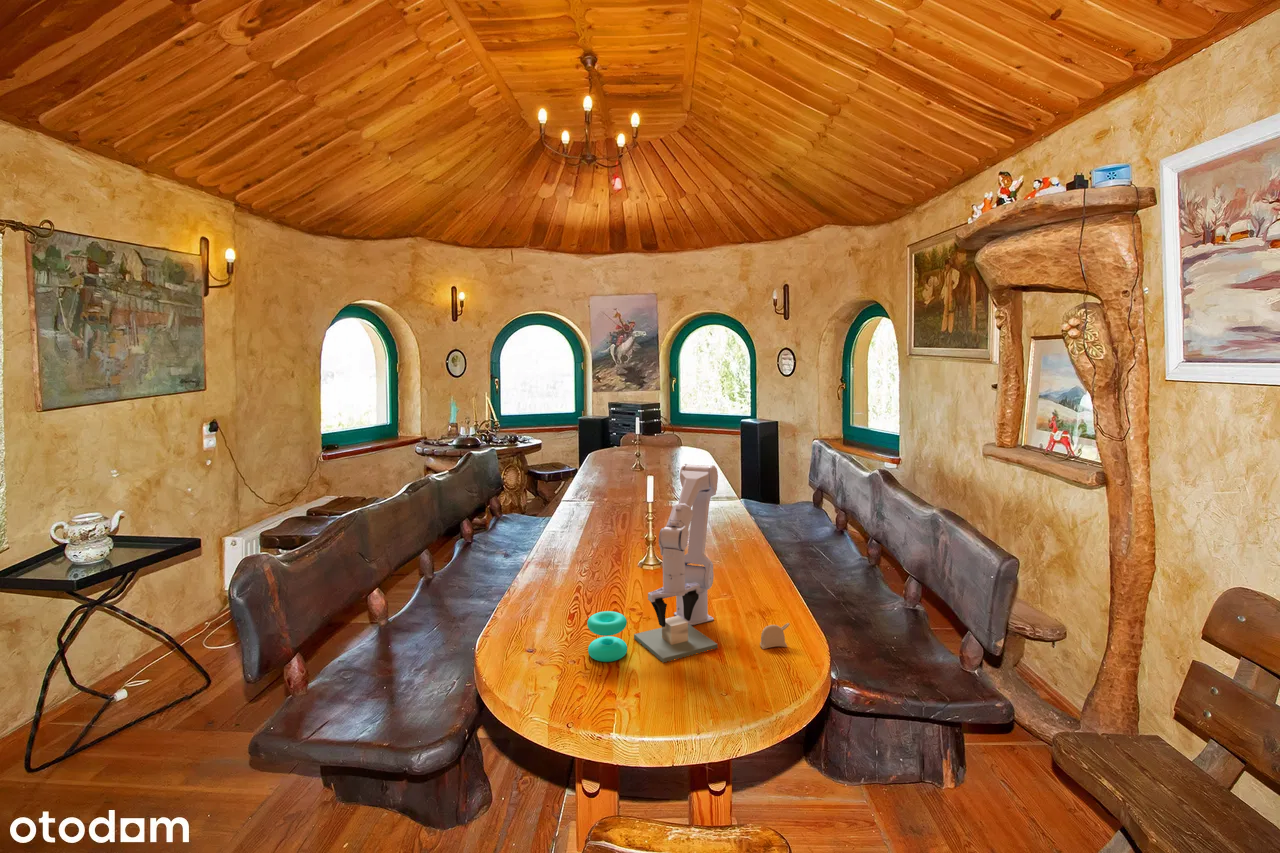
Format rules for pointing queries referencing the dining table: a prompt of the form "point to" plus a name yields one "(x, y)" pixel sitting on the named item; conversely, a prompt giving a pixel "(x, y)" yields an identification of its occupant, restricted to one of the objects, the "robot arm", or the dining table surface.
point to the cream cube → (675, 630)
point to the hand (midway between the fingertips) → (674, 622)
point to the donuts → (607, 636)
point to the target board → (670, 652)
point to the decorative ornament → (773, 636)
